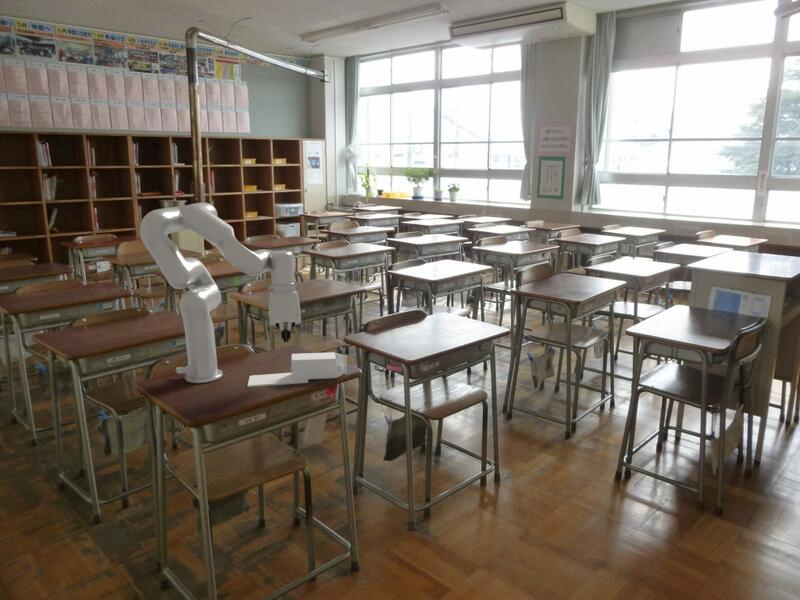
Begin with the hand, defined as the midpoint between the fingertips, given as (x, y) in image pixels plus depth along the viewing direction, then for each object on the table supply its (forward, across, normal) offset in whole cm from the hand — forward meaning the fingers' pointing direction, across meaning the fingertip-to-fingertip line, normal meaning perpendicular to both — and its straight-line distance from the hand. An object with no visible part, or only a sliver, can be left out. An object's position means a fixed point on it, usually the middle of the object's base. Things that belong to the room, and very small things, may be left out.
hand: (286, 341), depth 207 cm
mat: (+14, -3, 0) cm, 14 cm away
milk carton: (+9, +1, 0) cm, 9 cm away
